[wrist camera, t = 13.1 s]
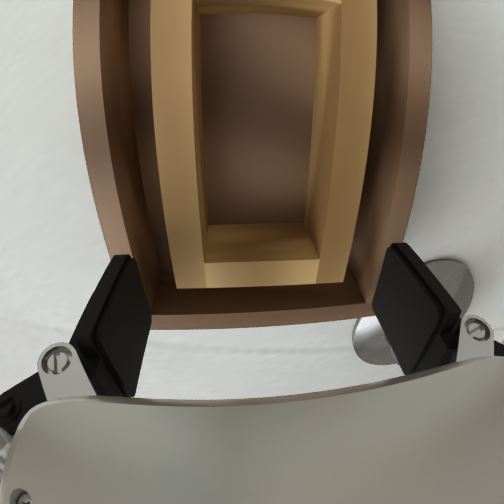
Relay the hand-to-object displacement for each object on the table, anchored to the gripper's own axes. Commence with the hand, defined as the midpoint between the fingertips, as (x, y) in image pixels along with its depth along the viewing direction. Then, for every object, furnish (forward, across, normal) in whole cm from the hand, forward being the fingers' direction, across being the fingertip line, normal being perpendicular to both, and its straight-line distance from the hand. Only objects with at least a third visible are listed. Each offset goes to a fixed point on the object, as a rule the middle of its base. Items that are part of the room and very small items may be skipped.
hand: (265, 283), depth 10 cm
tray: (+5, 0, -5) cm, 7 cm away
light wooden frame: (+4, 0, -5) cm, 6 cm away
